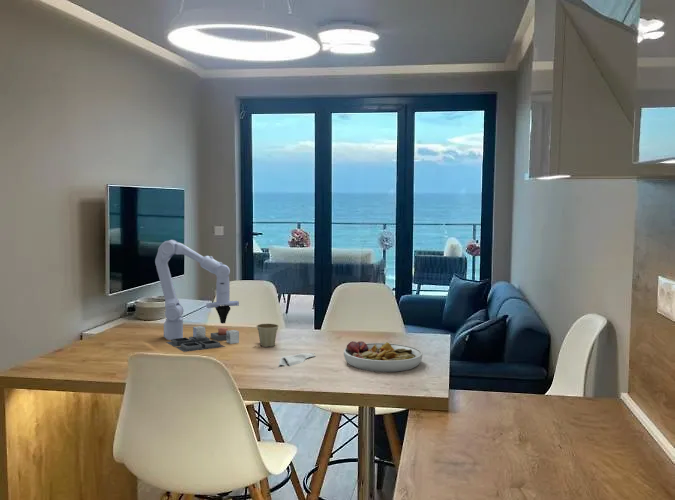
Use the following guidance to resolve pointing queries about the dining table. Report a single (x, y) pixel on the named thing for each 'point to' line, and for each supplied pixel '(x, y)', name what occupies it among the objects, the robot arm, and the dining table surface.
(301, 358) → the cloth
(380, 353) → the bowl
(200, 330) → the billet
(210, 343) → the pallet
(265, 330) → the flower pot
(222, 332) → the button
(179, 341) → the pallet
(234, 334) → the billet
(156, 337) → the dining table surface
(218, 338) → the box
